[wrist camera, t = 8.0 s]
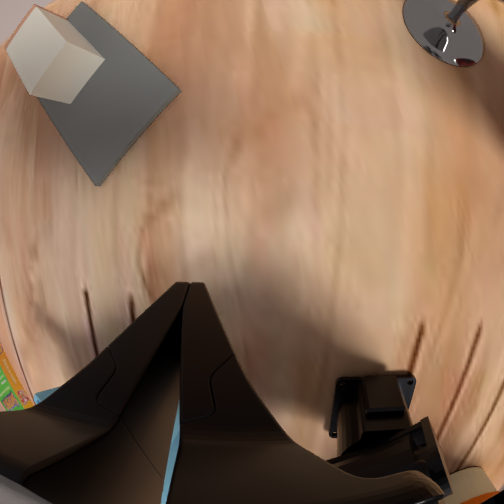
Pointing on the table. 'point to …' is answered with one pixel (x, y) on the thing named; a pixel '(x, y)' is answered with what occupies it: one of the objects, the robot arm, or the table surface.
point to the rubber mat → (109, 99)
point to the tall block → (51, 56)
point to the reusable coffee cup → (470, 487)
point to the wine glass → (446, 30)
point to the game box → (11, 387)
